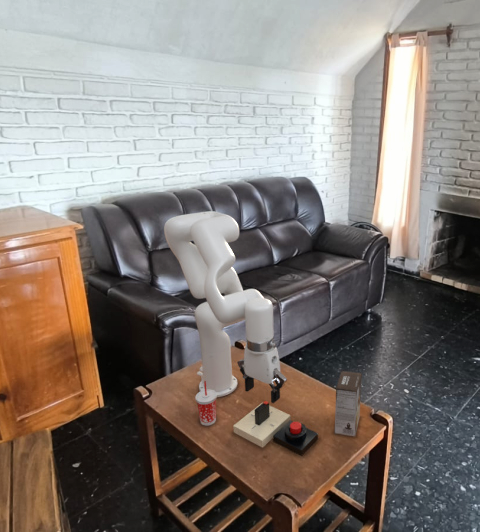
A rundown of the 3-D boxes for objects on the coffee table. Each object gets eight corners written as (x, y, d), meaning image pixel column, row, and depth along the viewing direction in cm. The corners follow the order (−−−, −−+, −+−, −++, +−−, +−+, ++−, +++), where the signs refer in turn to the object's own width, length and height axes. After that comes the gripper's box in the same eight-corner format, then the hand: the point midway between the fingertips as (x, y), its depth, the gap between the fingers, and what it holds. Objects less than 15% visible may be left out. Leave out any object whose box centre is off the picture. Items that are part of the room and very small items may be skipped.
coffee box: (339, 413, 137) (341, 369, 132) (359, 416, 136) (362, 372, 131) (334, 433, 129) (335, 387, 123) (355, 437, 128) (358, 391, 122)
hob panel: (233, 432, 128) (233, 425, 127) (262, 408, 139) (262, 401, 138) (262, 447, 123) (262, 440, 122) (290, 422, 133) (290, 414, 132)
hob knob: (259, 425, 128) (258, 410, 126) (254, 423, 128) (254, 408, 127) (269, 416, 131) (269, 402, 130) (265, 414, 132) (265, 400, 130)
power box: (273, 441, 125) (272, 430, 124) (290, 426, 132) (290, 415, 130) (301, 456, 120) (301, 445, 119) (317, 439, 127) (318, 428, 125)
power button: (287, 431, 124) (287, 426, 124) (294, 425, 127) (294, 420, 126) (296, 435, 123) (296, 430, 122) (303, 429, 125) (303, 424, 124)
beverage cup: (207, 430, 129) (204, 390, 124) (193, 422, 132) (189, 382, 127) (222, 418, 134) (220, 379, 129) (208, 411, 137) (205, 372, 132)
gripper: (293, 345, 119) (294, 398, 125) (246, 328, 128) (248, 379, 134) (276, 357, 113) (277, 412, 119) (227, 339, 122) (231, 391, 128)
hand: (262, 394), depth 126 cm, fingers open, 9 cm apart
